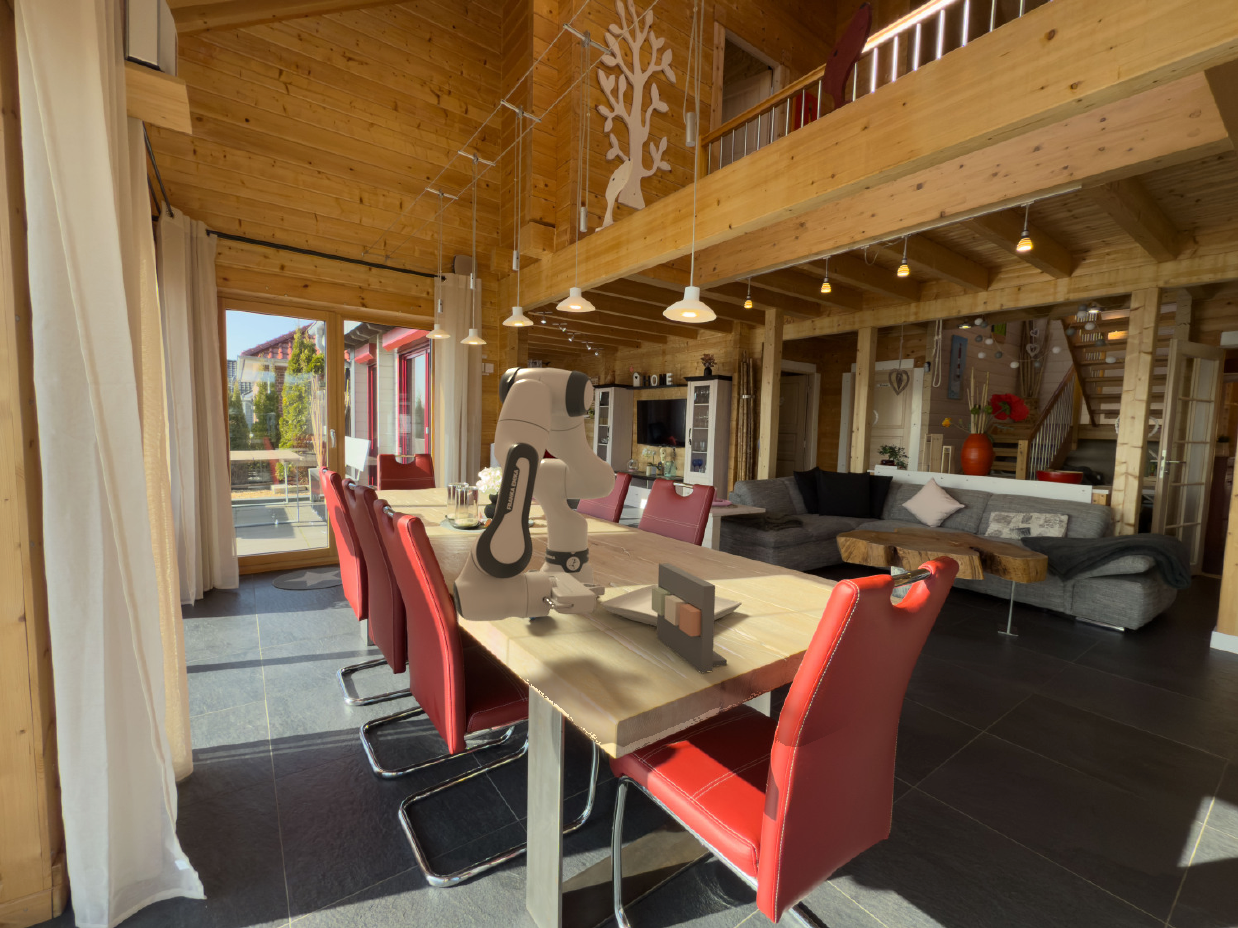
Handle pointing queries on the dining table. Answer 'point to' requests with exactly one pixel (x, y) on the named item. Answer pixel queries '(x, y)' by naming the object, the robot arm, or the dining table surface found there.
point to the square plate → (640, 606)
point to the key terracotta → (690, 620)
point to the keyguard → (702, 597)
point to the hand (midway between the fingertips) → (602, 589)
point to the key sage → (659, 600)
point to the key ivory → (673, 608)
